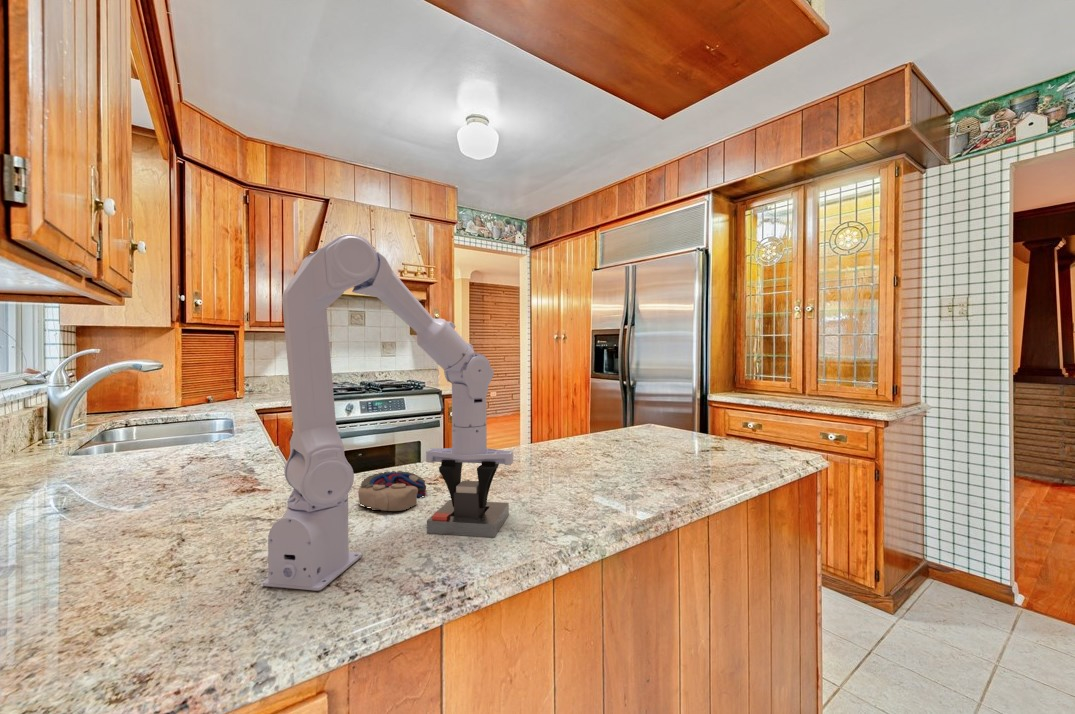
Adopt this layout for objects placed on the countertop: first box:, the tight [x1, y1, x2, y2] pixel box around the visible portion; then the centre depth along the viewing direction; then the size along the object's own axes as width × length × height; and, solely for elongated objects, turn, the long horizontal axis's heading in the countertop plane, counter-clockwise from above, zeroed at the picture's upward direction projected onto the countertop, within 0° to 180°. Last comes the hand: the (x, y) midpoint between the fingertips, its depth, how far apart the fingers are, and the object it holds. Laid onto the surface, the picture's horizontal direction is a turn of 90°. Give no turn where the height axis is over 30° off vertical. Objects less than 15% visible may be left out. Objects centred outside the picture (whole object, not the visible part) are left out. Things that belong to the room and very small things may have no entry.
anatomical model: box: [357, 470, 427, 512], centre depth 86 cm, size 12×16×5 cm
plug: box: [454, 480, 485, 518], centre depth 74 cm, size 4×4×6 cm
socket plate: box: [426, 499, 510, 538], centre depth 74 cm, size 10×11×3 cm
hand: (469, 505), depth 74 cm, fingers closed on plug, 4 cm apart
